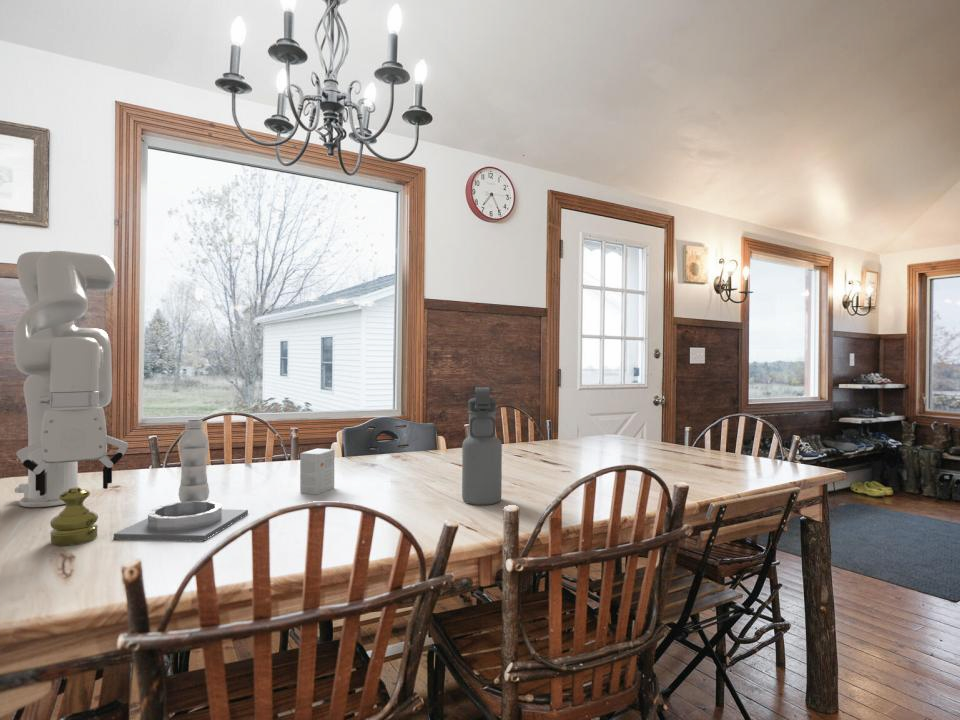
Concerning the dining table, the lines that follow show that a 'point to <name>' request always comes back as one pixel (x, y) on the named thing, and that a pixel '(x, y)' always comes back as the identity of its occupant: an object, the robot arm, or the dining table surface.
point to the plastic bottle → (193, 463)
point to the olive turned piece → (74, 520)
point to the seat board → (201, 533)
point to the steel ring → (165, 522)
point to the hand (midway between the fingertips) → (75, 490)
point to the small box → (316, 471)
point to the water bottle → (482, 453)
